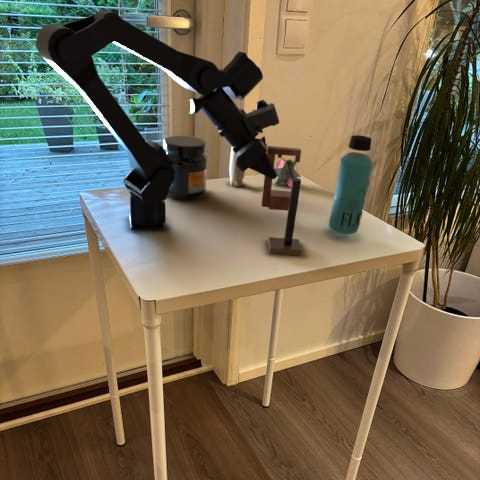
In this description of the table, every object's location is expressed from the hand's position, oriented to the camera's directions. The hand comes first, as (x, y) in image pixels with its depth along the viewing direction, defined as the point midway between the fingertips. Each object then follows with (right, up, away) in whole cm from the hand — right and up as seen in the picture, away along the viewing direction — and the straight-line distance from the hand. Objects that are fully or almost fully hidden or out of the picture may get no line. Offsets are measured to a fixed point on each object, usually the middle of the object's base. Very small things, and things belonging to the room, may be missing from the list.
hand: (275, 176), depth 107 cm
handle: (-8, +4, +21) cm, 23 cm away
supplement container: (-21, 0, +13) cm, 25 cm away
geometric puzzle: (+4, +4, +24) cm, 25 cm away
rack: (+2, -13, -3) cm, 13 cm away
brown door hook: (+1, -6, +4) cm, 7 cm away
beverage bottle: (+14, -12, 0) cm, 19 cm away
